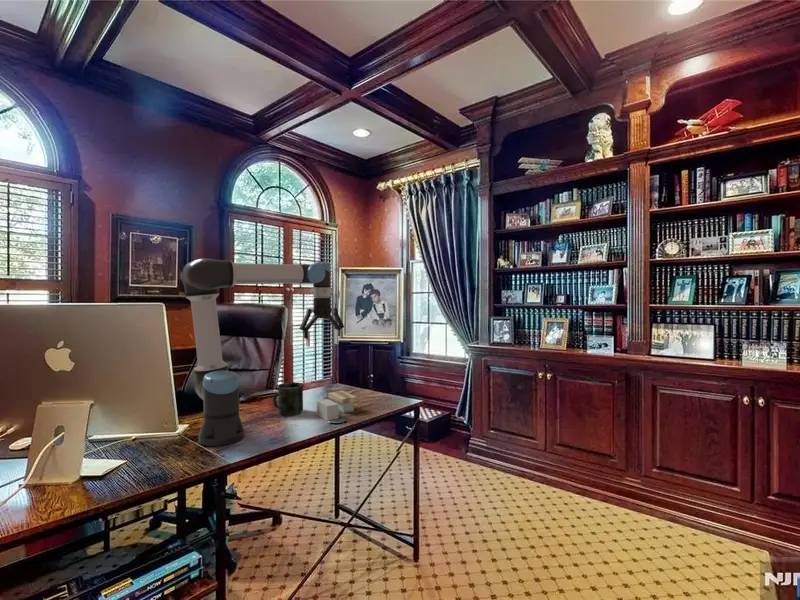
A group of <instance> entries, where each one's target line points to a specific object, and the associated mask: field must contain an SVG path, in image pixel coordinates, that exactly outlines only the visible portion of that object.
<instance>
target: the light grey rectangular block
mask: <svg viewBox="0 0 800 600" xmlns="http://www.w3.org/2000/svg"><path fill="white" fill-rule="evenodd" d="M316 402H317V404H316V409H317V410H316V411H317V412H316V413H317V414H316V415H317V416H318V417H320V418H322V419H323V420H325V421H327V422H329V421H333V419H334V420H337V419H339V411H338V404H337V403H335V402H333V401H331V400H330V398H327V399H326V398H325V399H321V400H317V401H316ZM328 420H329V421H328Z"/></svg>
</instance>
